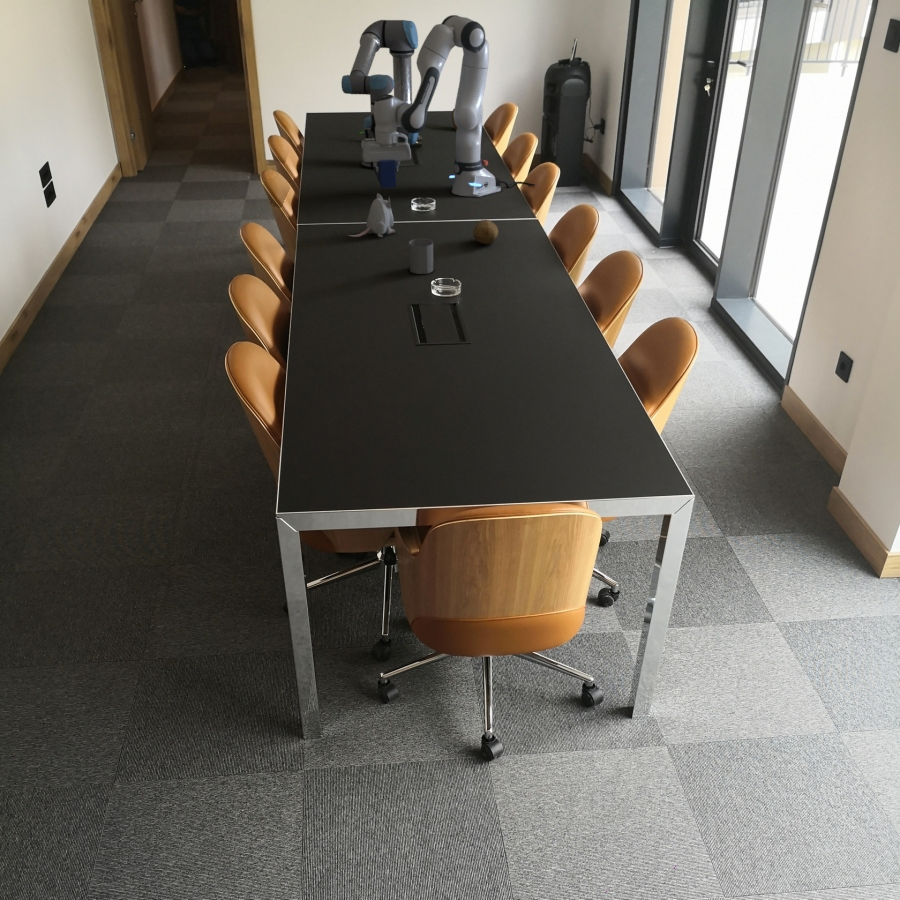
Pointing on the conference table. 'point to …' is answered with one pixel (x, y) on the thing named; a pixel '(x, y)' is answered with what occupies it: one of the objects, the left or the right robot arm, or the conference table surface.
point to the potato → (485, 232)
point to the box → (386, 173)
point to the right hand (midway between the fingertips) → (387, 171)
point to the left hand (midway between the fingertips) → (381, 168)
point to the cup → (421, 256)
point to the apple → (453, 119)
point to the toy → (379, 218)
